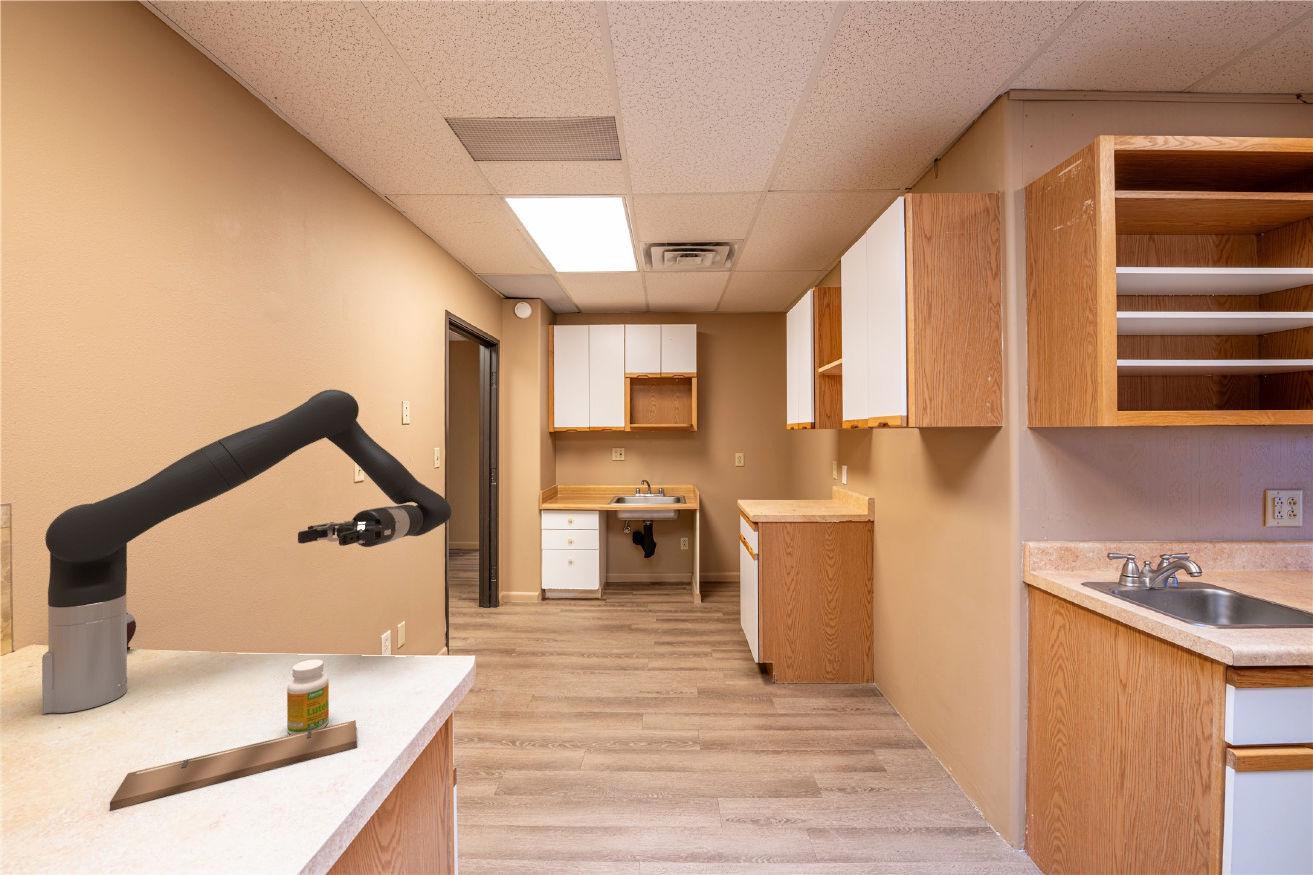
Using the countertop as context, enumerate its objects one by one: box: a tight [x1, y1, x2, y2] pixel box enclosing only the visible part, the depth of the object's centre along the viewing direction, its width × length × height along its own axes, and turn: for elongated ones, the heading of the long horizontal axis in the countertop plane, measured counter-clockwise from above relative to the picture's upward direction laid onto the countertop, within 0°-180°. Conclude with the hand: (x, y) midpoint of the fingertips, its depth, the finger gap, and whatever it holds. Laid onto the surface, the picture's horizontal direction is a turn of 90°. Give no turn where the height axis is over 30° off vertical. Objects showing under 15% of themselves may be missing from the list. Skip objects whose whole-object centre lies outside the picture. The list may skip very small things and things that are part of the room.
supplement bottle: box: [286, 659, 330, 735], centre depth 84 cm, size 5×5×10 cm
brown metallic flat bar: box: [109, 719, 358, 811], centre depth 74 cm, size 26×6×1 cm, turn 120°
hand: (319, 538), depth 97 cm, fingers open, 8 cm apart
